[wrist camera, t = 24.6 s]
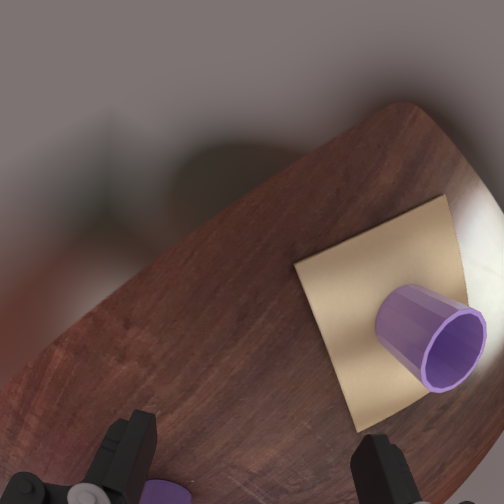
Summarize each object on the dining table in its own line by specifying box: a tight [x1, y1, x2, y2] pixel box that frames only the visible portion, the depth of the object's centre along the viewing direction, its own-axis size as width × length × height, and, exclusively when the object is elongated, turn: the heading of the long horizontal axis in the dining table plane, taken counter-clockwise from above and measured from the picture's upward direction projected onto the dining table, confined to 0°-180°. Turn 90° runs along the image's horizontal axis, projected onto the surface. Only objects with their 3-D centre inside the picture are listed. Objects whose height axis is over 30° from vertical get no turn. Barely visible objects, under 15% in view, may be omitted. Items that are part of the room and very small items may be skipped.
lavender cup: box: [375, 284, 487, 393], centre depth 20 cm, size 7×7×8 cm
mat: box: [293, 195, 469, 432], centre depth 25 cm, size 20×16×1 cm
